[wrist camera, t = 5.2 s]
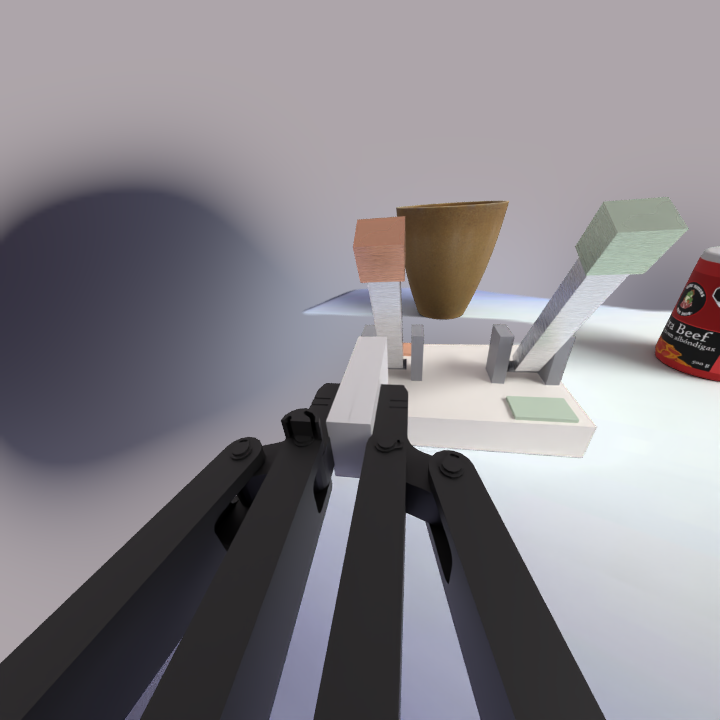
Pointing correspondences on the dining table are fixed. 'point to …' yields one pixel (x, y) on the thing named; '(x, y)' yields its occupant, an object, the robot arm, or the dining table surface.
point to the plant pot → (449, 252)
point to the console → (489, 398)
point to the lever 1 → (384, 278)
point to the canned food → (695, 323)
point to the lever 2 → (600, 271)
